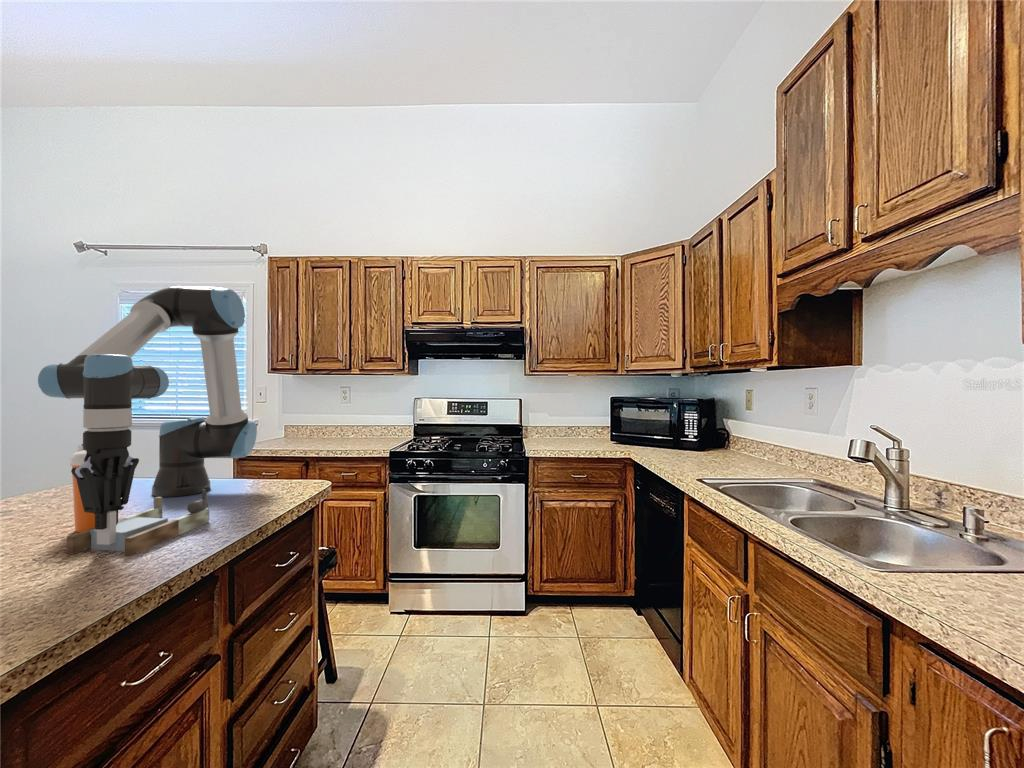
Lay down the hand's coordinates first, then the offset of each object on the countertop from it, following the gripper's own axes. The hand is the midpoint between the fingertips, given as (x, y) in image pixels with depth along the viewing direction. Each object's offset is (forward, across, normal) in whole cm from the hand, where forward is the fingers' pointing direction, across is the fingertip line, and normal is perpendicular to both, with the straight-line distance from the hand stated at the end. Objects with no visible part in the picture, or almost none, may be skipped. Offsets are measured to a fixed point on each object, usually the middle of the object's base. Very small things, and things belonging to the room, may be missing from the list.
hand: (106, 543), depth 94 cm
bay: (+2, -9, 0) cm, 9 cm away
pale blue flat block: (+2, -6, 0) cm, 6 cm away
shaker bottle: (+2, -14, -16) cm, 22 cm away
